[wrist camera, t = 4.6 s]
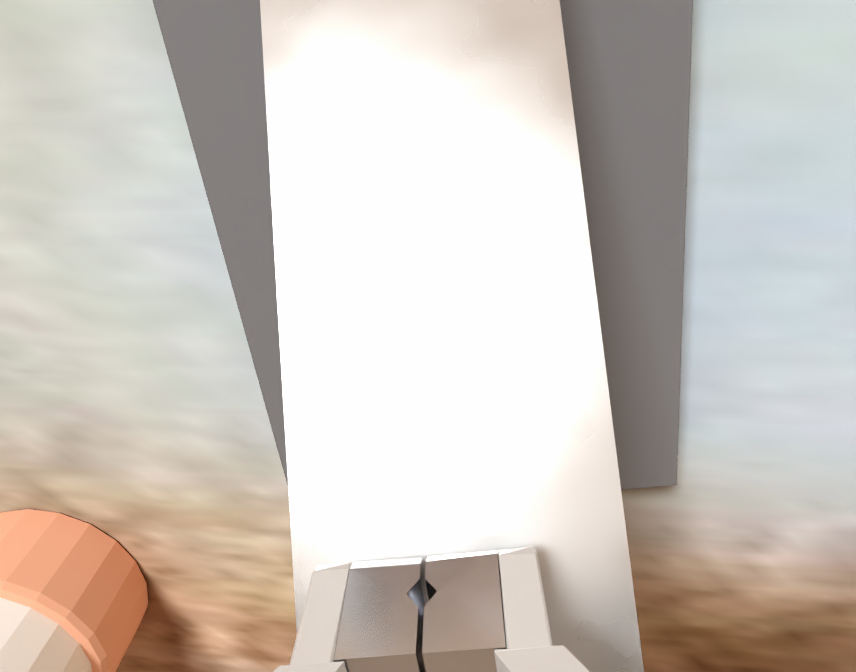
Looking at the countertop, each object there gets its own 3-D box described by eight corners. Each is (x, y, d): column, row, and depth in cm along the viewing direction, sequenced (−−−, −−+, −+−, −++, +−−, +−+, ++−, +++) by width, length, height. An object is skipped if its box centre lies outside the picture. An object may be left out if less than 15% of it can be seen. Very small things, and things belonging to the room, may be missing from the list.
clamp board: (674, -355, 14) (778, -532, 9) (659, 447, 22) (709, 556, 18) (120, -248, 15) (-27, -359, 10) (308, 476, 23) (272, 587, 19)
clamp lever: (515, -245, 13) (518, -349, 11) (626, 653, 11) (650, 697, 9) (271, -201, 14) (237, -293, 12) (326, 670, 11) (295, 715, 10)
